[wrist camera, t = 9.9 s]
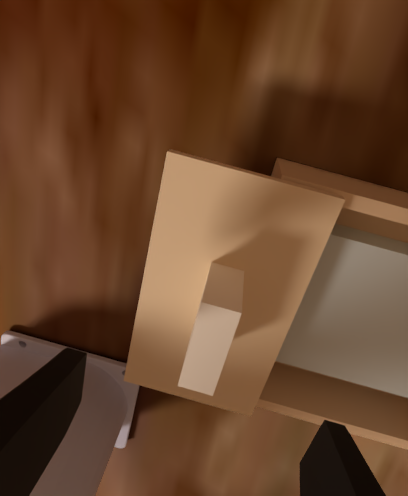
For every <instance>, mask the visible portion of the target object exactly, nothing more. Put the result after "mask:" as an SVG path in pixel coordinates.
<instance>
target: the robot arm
mask: <svg viewBox="0 0 408 496" xmlns="http://www.w3.org/2000/svg"><path fill="white" fill-rule="evenodd" d="M24 342H25V343H24ZM126 365H127V363H123V362H119V361H116V360H112V359H109V358H105V357H102V356H98V355H95V354H91V353H88V352H84V351H81V350H77V349H73V348H70V347H66V346H63V345H59V344H56V343H52V342H49V341H45V340H42V339H38V338H34V337H31V336H27V335H24V334H20V333H17V332H13V331H6V332H5V333H4V334H3V335H2V336H1V346H0V496H95V494H96V492H97V489H98V487H99V484H100V482H101V479H102V476H103V474H104V471H105V469H106V466H107V464H108V461H109V458H110V456H111V453H112V451H113V448H114V447H117V448H124V447H125V446H126V444H127V441H128V436H129V432H130V427H131V423H132V418H133V414H134V409H135V405H136V400H137V396H138V391H139V386H140V385H137V384H133V383H130V382H126V381H124V376H125V370H126ZM300 496H386V495H385V493H384V492H383V490H382V488H381V487H380V485H379V483H378V482H377V480H376V478H375V477H374V475H373V473H372V471H371V470H370V468H369V466H368V465H367V463H366V461H365V459H364V458H363V456H362V454H361V452H360V451H359V449H358V447H357V445H356V444H355V442H354V440H353V438H352V437H351V435H350V433H349V432H348V430H347V428H346V426H345V425H342V424H338V423H335V422H331V421H328V420H324V421H323V423H322V425H321V427H320V428H319V430H318V432H317V434H316V435H315V437H314V439H313V441H312V442H311V444H310V446H309V448H308V449H307V451H306V453H305V455H304V456H303V458H302V460H301V462H300Z"/></svg>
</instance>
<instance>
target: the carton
mask: <svg viewBox="0 0 408 496" xmlns="http://www.w3.org/2000/svg"><path fill="white" fill-rule="evenodd" d="M271 177H275V178H279V179H282V180H286V181H290V182H293V183H297V184H301V185H304V186H308V187H312V188H316V189H319V190H323V191H327V192H330V193H334V194H338V195H341V196H343V197H344V199H345V202H344V204H343V206H342V209H341V211H340V213H339V216H338V218H337V220H336V223H335V225H334V227H333V229H332V232H331V234H330V236H329V239H328V241H327V243H326V245H325V248H324V250H323V252H322V255H321V257H320V259H319V262H318V264H317V266H316V268H315V271H314V273H313V275H312V278H311V280H310V282H309V285H308V287H307V289H306V291H305V294H304V296H303V298H302V301H301V303H300V305H299V308H298V310H297V312H296V314H295V317H294V319H293V321H292V324H291V326H290V328H289V331H288V333H287V335H286V337H285V340H284V342H283V344H282V347H281V349H280V351H279V354H278V356H277V358H276V360H275V363H274V365H273V367H272V370H271V372H270V374H269V377H268V379H267V381H266V383H265V386H264V388H263V390H262V393H261V395H260V397H259V400H258V402H257V404H256V406H255V407H258V408H262V409H265V410H269V411H272V412H276V413H279V414H283V415H286V416H290V417H294V418H297V419H301V420H304V421H308V422H311V423H315V424H318V425H322V423H323V421H324V420H328V421H331V422H335V423H338V424H342V425H345V426H346V428H347V430H348V432H349V433H350V434H354V435H357V436H361V437H364V438H368V439H371V440H375V441H378V442H382V443H386V444H389V445H393V446H396V447H400V448H403V449H407V450H408V193H407V192H403V191H400V190H396V189H392V188H389V187H385V186H381V185H377V184H374V183H370V182H366V181H363V180H359V179H355V178H352V177H348V176H344V175H340V174H337V173H333V172H329V171H326V170H322V169H318V168H315V167H311V166H307V165H303V164H300V163H296V162H292V161H289V160H285V159H281V158H278V157H277V159H276V162H275V165H274V168H273V171H272V174H271Z"/></svg>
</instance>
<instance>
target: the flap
mask: <svg viewBox="0 0 408 496" xmlns="http://www.w3.org/2000/svg"><path fill="white" fill-rule="evenodd" d="M344 202H345V199H344V197H343V196H341V195H338V194H334V193H330V192H327V191H323V190H319V189H316V188H312V187H308V186H304V185H301V184H297V183H293V182H290V181H286V180H282V179H279V178H275V177H271V176H268V175H264V174H260V173H257V172H253V171H249V170H245V169H242V168H238V167H234V166H231V165H227V164H223V163H220V162H216V161H212V160H209V159H205V158H201V157H198V156H194V155H190V154H187V153H183V152H179V151H175V150H172V149H170V150H168V151H167V155H166V160H165V165H164V171H163V176H162V181H161V186H160V192H159V197H158V202H157V207H156V213H155V218H154V223H153V228H152V234H151V239H150V244H149V249H148V255H147V260H146V265H145V270H144V276H143V281H142V286H141V292H140V297H139V302H138V307H137V313H136V318H135V323H134V328H133V334H132V339H131V344H130V349H129V355H128V360H127V365H126V370H125V376H124V381H126V382H130V383H133V384H137V385H140V386H144V387H147V388H151V389H154V390H158V391H161V392H165V393H168V394H172V395H175V396H179V397H183V398H186V399H190V400H193V401H197V402H200V403H204V404H207V405H211V406H214V407H218V408H221V409H225V410H228V411H232V412H236V413H239V414H243V415H246V416H250V417H251V416H252V413H253V411H254V409H255V406H256V404H257V402H258V400H259V397H260V395H261V393H262V390H263V388H264V386H265V383H266V381H267V379H268V377H269V374H270V372H271V370H272V367H273V365H274V363H275V360H276V358H277V356H278V354H279V351H280V349H281V347H282V344H283V342H284V340H285V337H286V335H287V333H288V331H289V328H290V326H291V324H292V321H293V319H294V317H295V314H296V312H297V310H298V308H299V305H300V303H301V301H302V298H303V296H304V294H305V291H306V289H307V287H308V285H309V282H310V280H311V278H312V275H313V273H314V271H315V268H316V266H317V264H318V262H319V259H320V257H321V255H322V252H323V250H324V248H325V245H326V243H327V241H328V239H329V236H330V234H331V232H332V229H333V227H334V225H335V223H336V220H337V218H338V216H339V213H340V211H341V209H342V206H343V204H344Z"/></svg>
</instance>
